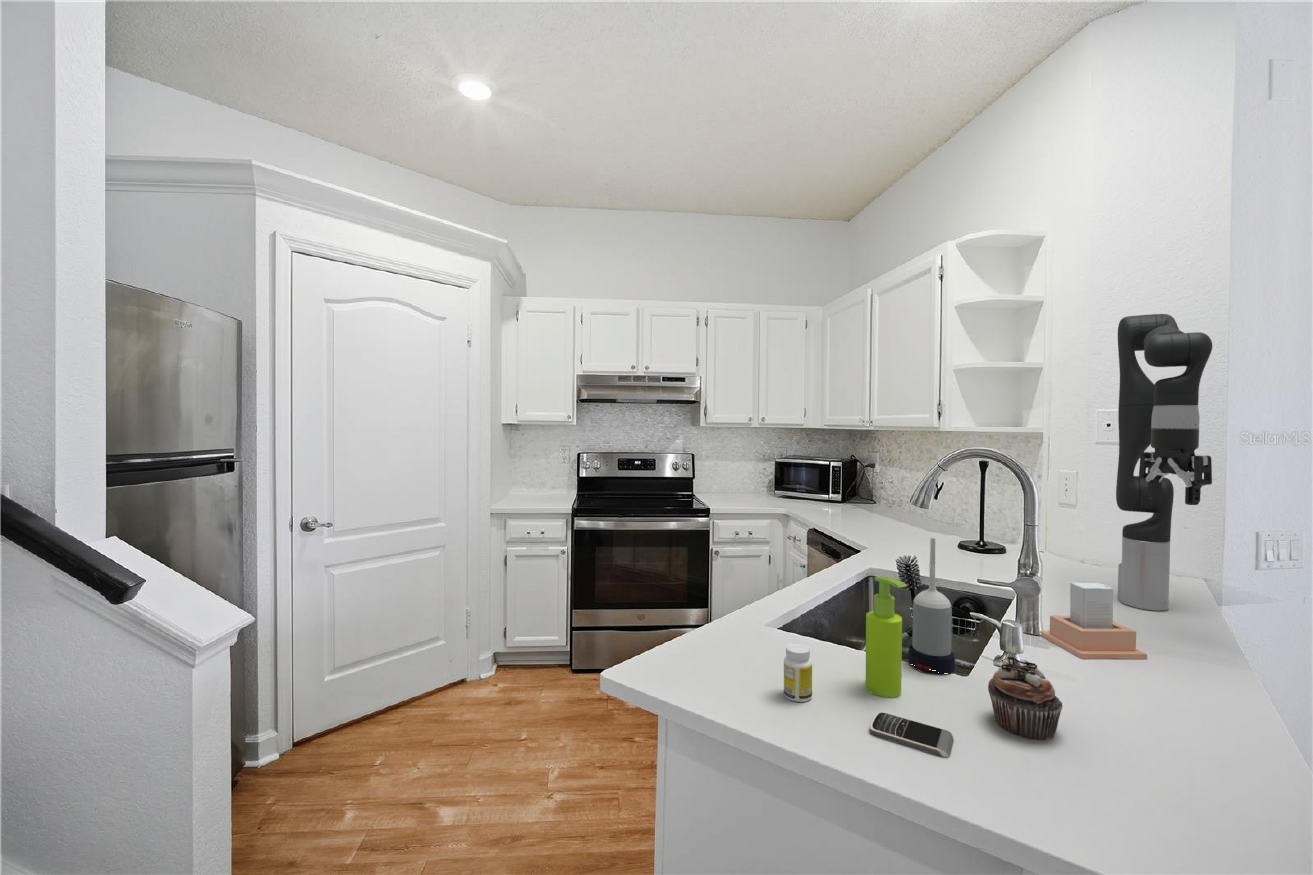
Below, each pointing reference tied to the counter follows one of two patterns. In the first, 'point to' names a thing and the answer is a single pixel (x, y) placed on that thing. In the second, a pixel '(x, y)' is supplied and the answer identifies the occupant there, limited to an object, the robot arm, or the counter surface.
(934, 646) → the grey toilet brush
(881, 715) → the cell phone
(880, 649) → the soap dispenser
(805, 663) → the supplement bottle
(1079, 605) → the skincare box
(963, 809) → the counter surface
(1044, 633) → the tan open box
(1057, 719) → the cupcake
